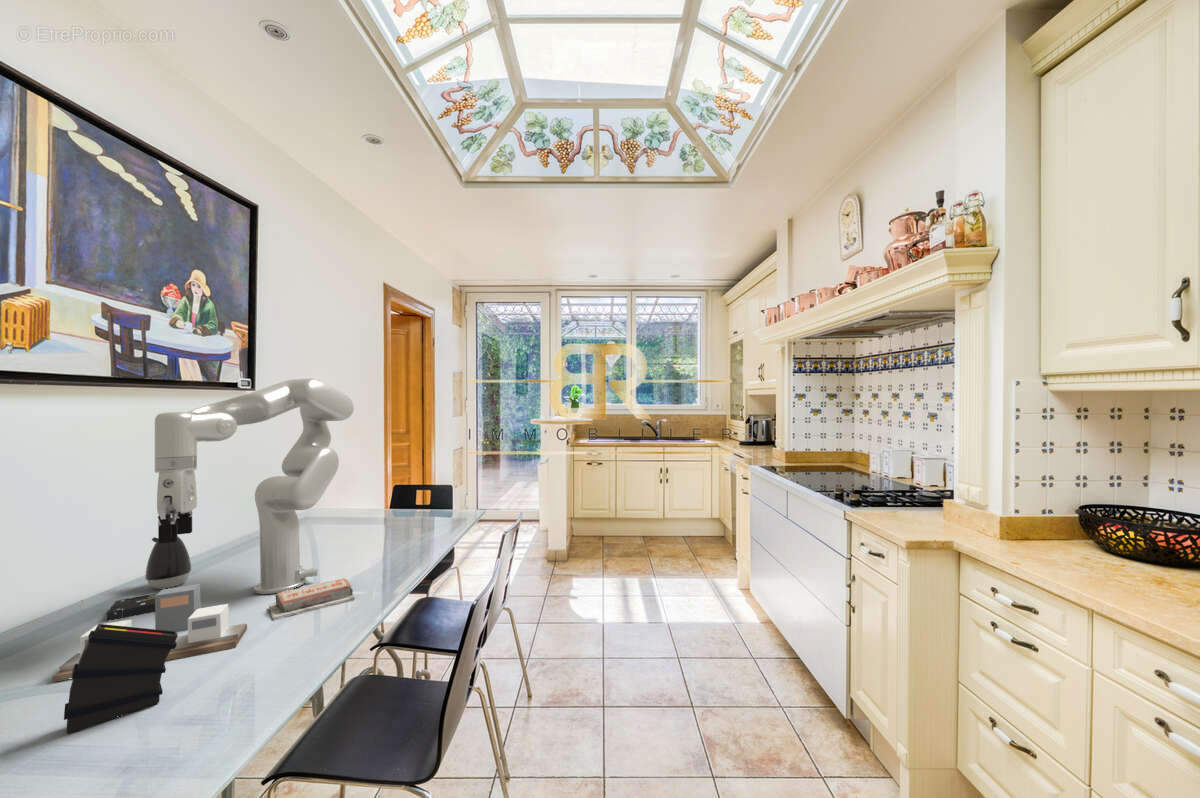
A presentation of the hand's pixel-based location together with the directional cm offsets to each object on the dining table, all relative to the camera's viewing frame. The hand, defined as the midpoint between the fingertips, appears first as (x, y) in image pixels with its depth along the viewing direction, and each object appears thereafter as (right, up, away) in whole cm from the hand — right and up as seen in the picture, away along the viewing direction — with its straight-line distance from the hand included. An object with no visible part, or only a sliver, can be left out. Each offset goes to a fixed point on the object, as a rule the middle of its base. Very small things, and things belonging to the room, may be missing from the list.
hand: (176, 537), depth 114 cm
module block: (+1, -21, 0) cm, 21 cm away
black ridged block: (+20, -20, -33) cm, 44 cm away
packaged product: (+25, -21, +12) cm, 35 cm away
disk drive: (-19, -23, +14) cm, 33 cm away
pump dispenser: (-29, -23, +30) cm, 48 cm away
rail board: (+8, -21, -13) cm, 25 cm away
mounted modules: (+8, -18, -13) cm, 24 cm away
